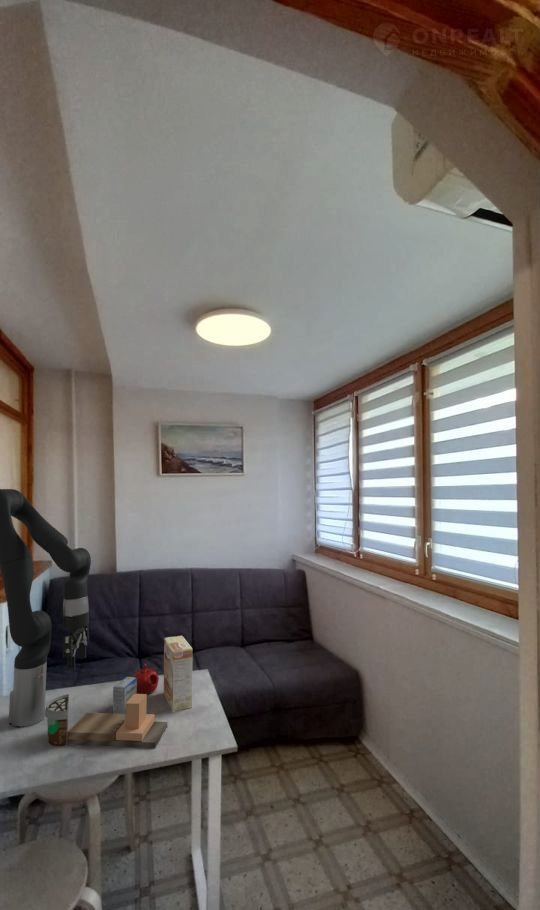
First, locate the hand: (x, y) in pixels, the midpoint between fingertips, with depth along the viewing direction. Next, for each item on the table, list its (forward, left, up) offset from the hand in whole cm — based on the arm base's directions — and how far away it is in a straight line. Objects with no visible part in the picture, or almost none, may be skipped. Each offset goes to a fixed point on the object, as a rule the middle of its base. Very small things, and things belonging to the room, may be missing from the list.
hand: (76, 663), depth 137 cm
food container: (-1, -9, -18) cm, 20 cm away
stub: (+22, -6, -16) cm, 28 cm away
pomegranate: (+14, +23, -18) cm, 32 cm away
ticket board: (+17, -6, -18) cm, 26 cm away
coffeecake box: (+28, +16, -18) cm, 37 cm away
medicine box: (+12, +10, -18) cm, 24 cm away
